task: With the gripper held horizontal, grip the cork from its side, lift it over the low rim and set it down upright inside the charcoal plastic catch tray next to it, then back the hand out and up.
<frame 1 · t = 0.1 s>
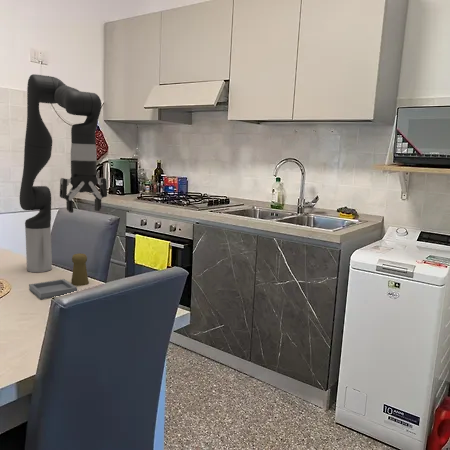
hand: (84, 211, 138), 29 cm above the table, tool pointing down, fingers open, 8 cm apart
catch tray: (53, 291, 151), on the table
cork: (79, 284, 161), on the table
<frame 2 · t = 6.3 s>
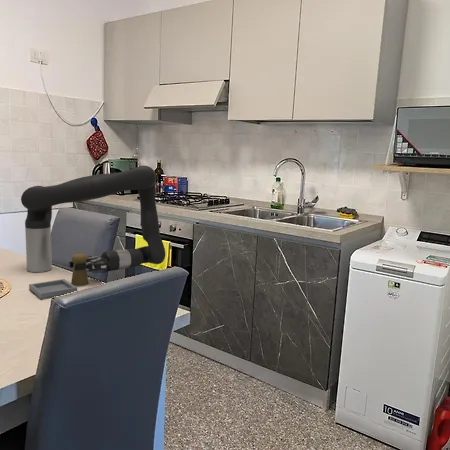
hand: (72, 266, 158), 7 cm above the table, tool horizontal, fingers closed on cork, 4 cm apart
cork: (79, 283, 161), on the table, touching gripper
when the fingers open (8 cm above the table, at t = 11.2 s): cork moves 2 cm, point 1 cm above the table.
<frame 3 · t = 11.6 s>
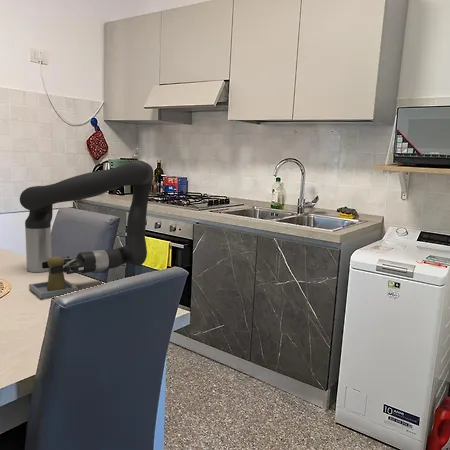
hand: (46, 268, 148), 9 cm above the table, tool horizontal, fingers open, 7 cm apart
cork: (56, 289, 149), point 1 cm above the table, touching gripper
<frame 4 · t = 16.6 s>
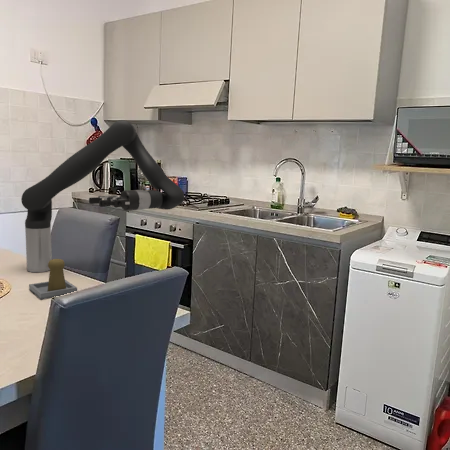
hand: (94, 202, 155), 30 cm above the table, tool horizontal, fingers open, 8 cm apart
cork: (57, 291, 150), resting on catch tray
at the end: cork inside the target area on the catch tray (2.0 cm from its centre), point 0.4 cm above the catch tray's base; cork tilted 0°; the gripper is holding nothing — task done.
